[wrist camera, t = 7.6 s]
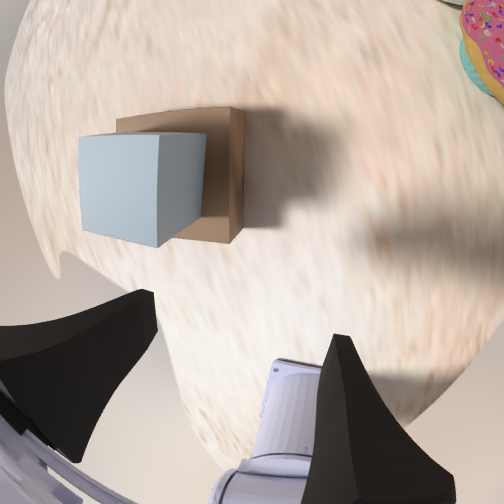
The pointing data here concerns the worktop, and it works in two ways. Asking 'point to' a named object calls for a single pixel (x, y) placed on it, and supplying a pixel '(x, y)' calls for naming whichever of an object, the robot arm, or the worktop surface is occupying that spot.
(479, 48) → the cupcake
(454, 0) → the white bottle
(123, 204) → the blue cube
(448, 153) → the worktop surface
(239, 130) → the walnut base
